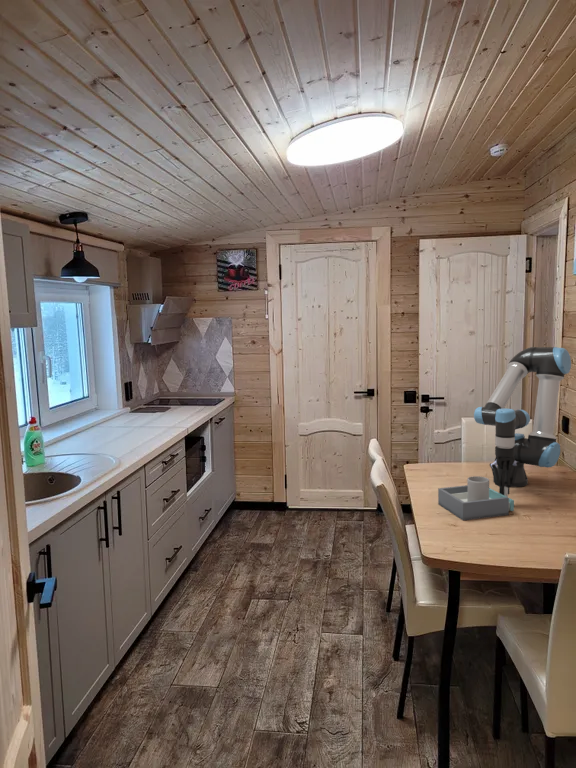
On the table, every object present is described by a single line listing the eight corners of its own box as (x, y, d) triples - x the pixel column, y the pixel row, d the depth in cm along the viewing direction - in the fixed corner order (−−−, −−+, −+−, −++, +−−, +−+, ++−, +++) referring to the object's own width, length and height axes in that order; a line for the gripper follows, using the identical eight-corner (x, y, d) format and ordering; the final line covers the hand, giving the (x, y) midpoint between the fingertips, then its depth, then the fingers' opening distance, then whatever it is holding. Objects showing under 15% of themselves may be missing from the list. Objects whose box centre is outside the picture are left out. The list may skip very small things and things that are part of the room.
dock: (480, 499, 240) (480, 483, 239) (508, 515, 221) (508, 497, 220) (438, 504, 236) (438, 488, 235) (463, 520, 216) (463, 503, 215)
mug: (487, 509, 221) (487, 483, 220) (465, 507, 226) (465, 480, 224) (492, 500, 232) (492, 475, 231) (471, 498, 236) (471, 473, 235)
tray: (487, 496, 240) (487, 486, 239) (513, 510, 222) (514, 500, 221) (445, 501, 236) (445, 491, 235) (469, 516, 217) (469, 505, 217)
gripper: (513, 443, 233) (512, 497, 236) (485, 445, 230) (485, 500, 233) (524, 447, 226) (523, 503, 229) (496, 449, 223) (495, 506, 226)
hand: (504, 501), depth 231 cm, fingers closed
